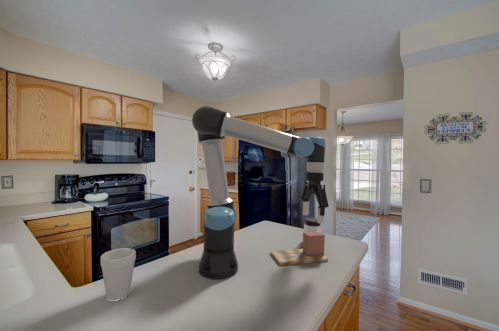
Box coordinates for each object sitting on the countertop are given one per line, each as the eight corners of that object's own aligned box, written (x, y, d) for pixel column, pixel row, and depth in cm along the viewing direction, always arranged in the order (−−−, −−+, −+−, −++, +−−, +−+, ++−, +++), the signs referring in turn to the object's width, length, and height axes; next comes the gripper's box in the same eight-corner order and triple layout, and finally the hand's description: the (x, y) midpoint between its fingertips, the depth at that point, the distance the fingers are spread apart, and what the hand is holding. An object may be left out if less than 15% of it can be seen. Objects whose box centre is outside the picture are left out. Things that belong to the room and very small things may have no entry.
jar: (314, 246, 116) (315, 222, 116) (301, 241, 122) (301, 219, 121) (323, 241, 122) (324, 219, 122) (310, 238, 128) (310, 216, 128)
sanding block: (307, 256, 100) (308, 235, 100) (302, 251, 105) (303, 232, 105) (324, 255, 102) (324, 235, 102) (318, 250, 107) (318, 231, 106)
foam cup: (127, 283, 77) (128, 245, 77) (140, 294, 72) (141, 253, 71) (95, 296, 70) (95, 254, 70) (106, 309, 64) (107, 263, 64)
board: (279, 265, 93) (279, 262, 93) (270, 253, 105) (270, 251, 105) (327, 261, 98) (328, 258, 98) (314, 250, 110) (314, 247, 110)
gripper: (339, 174, 91) (336, 226, 92) (309, 170, 116) (307, 212, 116) (322, 173, 90) (319, 227, 90) (295, 170, 114) (293, 212, 114)
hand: (312, 218), depth 103 cm, fingers open, 13 cm apart
